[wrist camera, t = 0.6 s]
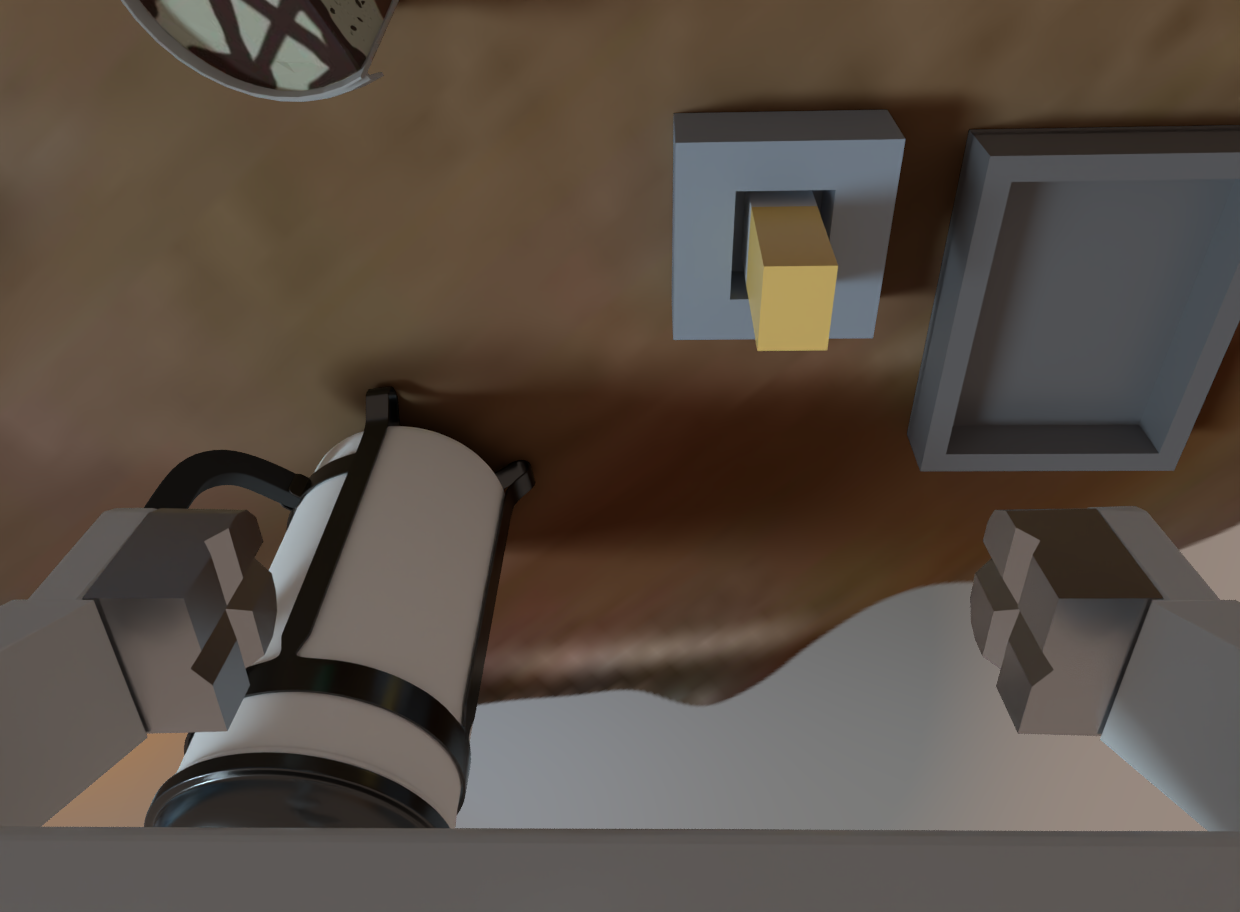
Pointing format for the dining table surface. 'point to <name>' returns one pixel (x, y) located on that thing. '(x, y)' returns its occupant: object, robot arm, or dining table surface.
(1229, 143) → the parts tray
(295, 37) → the food container
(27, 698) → the robot arm
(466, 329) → the dining table surface
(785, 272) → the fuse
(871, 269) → the socket block
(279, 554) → the coffee press
